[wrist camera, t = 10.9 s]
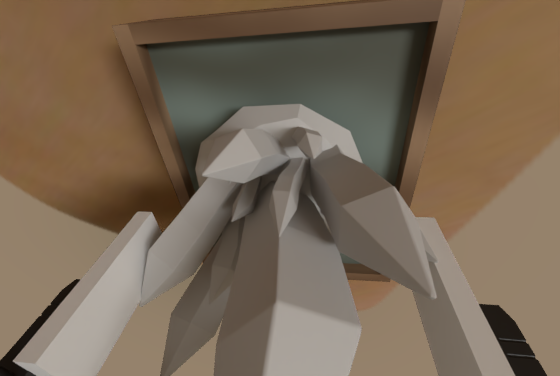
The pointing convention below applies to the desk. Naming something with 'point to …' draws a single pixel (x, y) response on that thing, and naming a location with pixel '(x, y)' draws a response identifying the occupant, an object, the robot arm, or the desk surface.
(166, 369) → the crystal
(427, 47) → the wooden tray
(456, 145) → the desk surface
